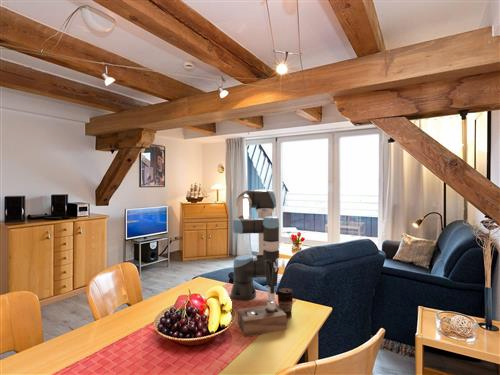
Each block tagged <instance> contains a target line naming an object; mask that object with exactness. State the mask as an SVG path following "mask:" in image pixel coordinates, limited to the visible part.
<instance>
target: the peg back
mask: <svg viewBox="0 0 500 375" xmlns="http://www.w3.org/2000/svg"><path fill="white" fill-rule="evenodd" d="M276 304H277V303H276V301H275V300H269V299H268V300H267V302H266V305H267V312H268V313H275V312H276Z"/></svg>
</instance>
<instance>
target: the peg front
mask: <svg viewBox="0 0 500 375" xmlns="http://www.w3.org/2000/svg"><path fill="white" fill-rule="evenodd" d="M255 315H256V312H255V311H248V312H247V316H248V317H249V316H255Z"/></svg>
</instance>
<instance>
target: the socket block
mask: <svg viewBox="0 0 500 375" xmlns="http://www.w3.org/2000/svg"><path fill="white" fill-rule="evenodd" d="M248 311H255V312H256V315H255V316H249V317H248V316H247V312H248ZM287 319H288V318H286V313H285V312H284V311H283V310H282V309H281V308H280V307H279V305H278V303H276V312H275V313H268V312H267V304H266V305H265V304H264V305H258V306H251V307H245V308H243V307H242V308H238V309H237V325H238V327H239V329H240V331H241V333H242V335H243V337H244V338H246V337H253V336H258V335H264V334H269V333H276V332H281V331H286V330H287V327H288V326H287V324H288V323H287Z"/></svg>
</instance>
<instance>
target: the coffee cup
mask: <svg viewBox="0 0 500 375" xmlns="http://www.w3.org/2000/svg"><path fill="white" fill-rule="evenodd" d="M294 294H295V292H294V291H293V289H292V288H288V287H283V288H279V289H278V290H277V292H276V295H277V305H278V306H279V307H280V308H281V309H282V310H283V311H284V312H285V313H286V319H288V318H291V317H292V316H293V315H292V313H293V312H292V310H293V303H294V302H293V299H294Z"/></svg>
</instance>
